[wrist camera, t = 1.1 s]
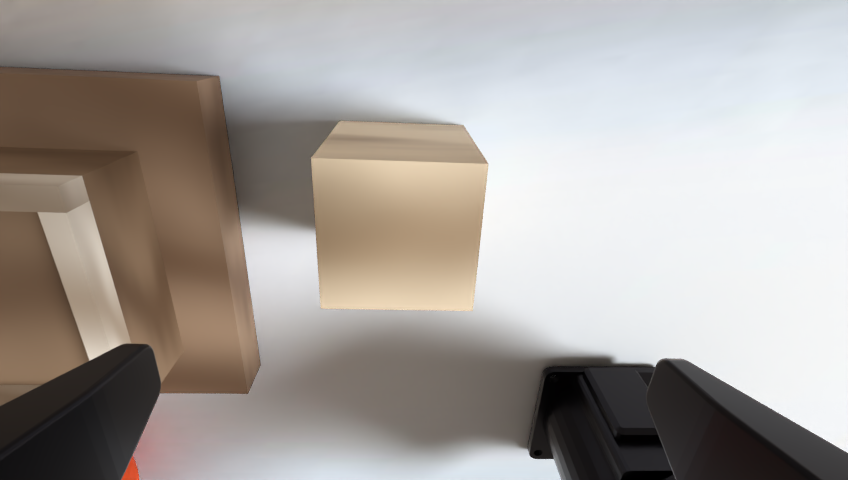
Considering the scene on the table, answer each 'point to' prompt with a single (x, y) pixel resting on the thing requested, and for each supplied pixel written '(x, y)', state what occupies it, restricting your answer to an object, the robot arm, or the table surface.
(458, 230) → the maple block
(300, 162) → the table surface
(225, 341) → the tower base
